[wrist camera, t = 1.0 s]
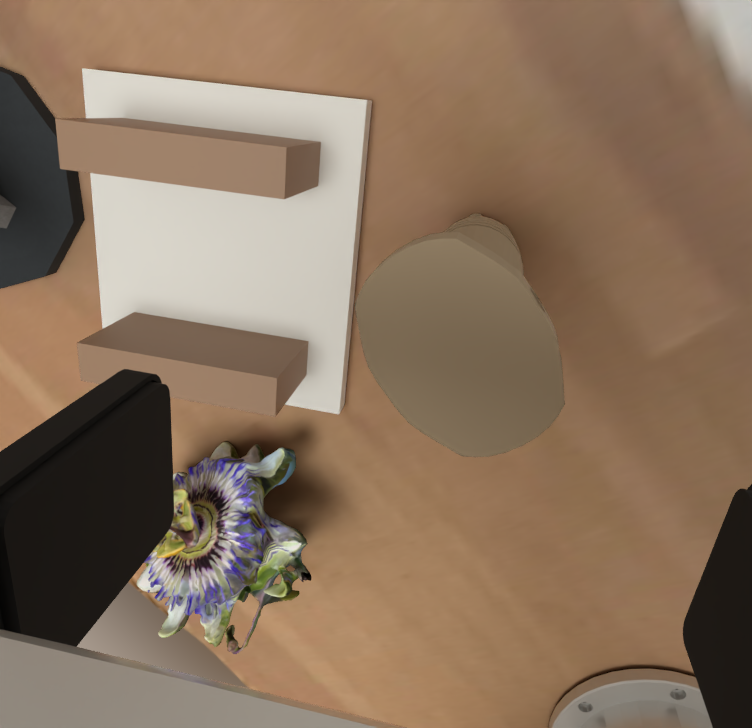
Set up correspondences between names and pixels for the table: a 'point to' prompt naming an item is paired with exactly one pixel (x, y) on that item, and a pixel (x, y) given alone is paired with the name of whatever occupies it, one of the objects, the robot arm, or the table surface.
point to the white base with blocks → (222, 236)
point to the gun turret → (32, 187)
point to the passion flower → (225, 543)
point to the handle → (463, 339)
